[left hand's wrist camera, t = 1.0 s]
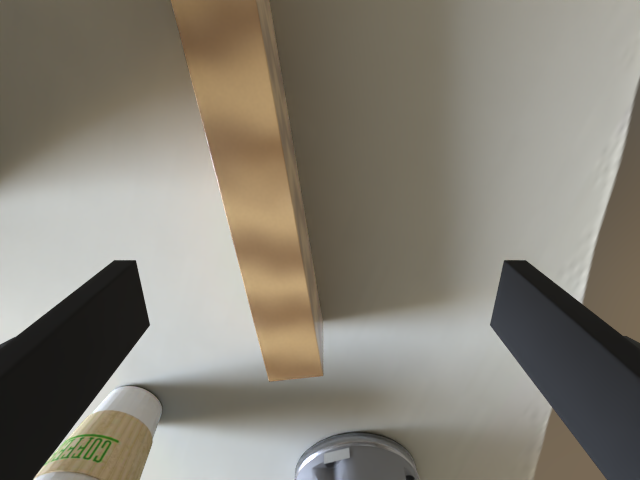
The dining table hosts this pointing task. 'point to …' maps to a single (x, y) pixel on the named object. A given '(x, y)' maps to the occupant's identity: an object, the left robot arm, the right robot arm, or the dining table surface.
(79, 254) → the dining table surface
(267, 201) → the bar
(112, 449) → the coffee cup
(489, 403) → the dining table surface
